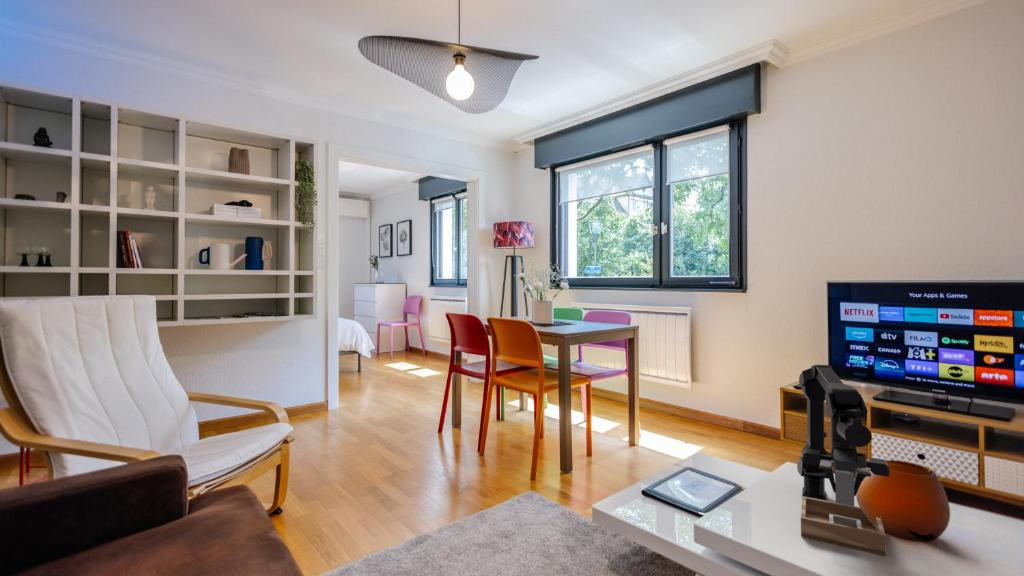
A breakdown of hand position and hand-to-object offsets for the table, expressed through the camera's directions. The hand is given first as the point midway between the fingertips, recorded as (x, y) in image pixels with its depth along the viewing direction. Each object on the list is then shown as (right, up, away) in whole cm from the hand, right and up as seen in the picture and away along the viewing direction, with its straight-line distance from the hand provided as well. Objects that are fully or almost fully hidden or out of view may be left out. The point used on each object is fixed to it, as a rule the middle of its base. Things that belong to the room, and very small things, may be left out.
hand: (844, 493), depth 128 cm
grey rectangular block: (0, -2, 0) cm, 2 cm away
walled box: (0, -11, +2) cm, 12 cm away
